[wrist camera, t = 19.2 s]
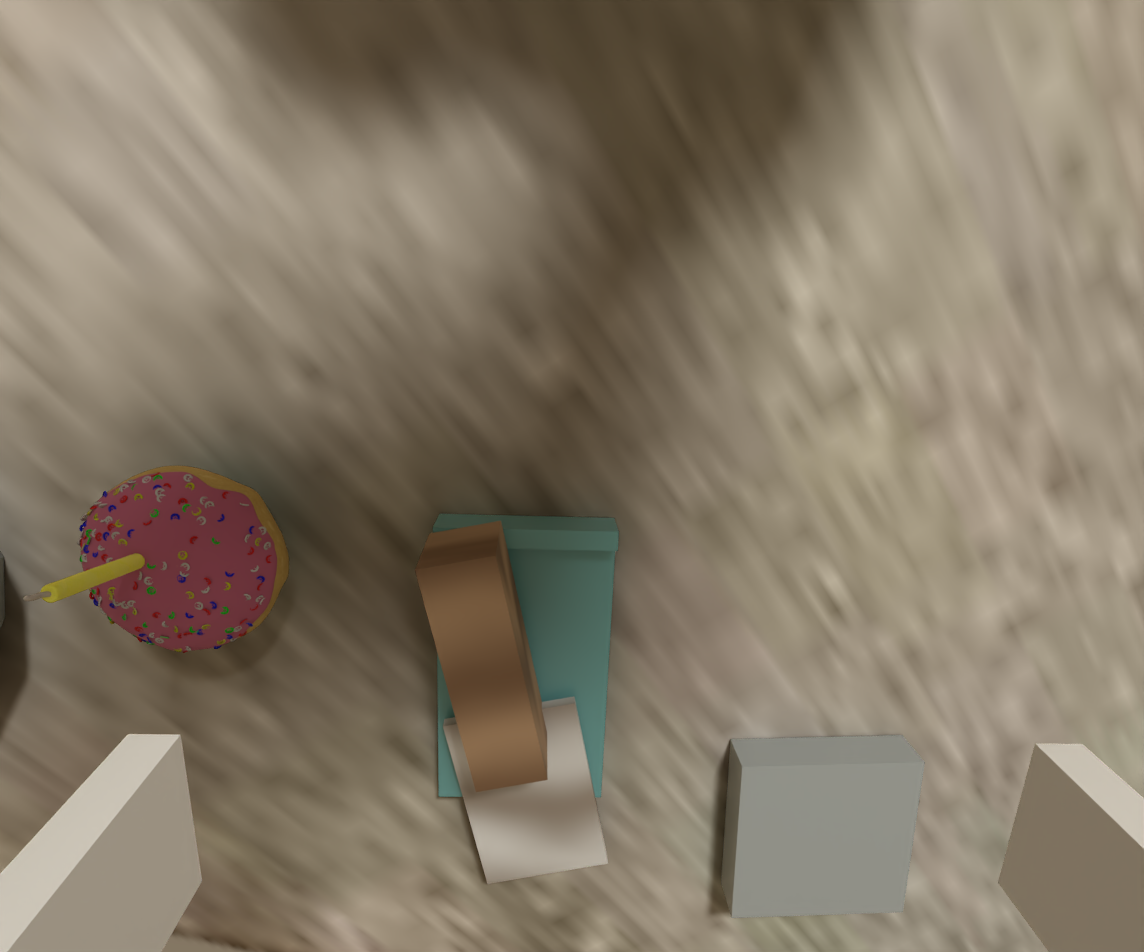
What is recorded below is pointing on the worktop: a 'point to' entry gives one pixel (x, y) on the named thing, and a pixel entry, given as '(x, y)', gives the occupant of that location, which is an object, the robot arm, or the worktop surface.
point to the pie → (2, 590)
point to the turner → (505, 716)
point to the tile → (819, 825)
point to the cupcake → (179, 559)
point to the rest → (554, 619)
